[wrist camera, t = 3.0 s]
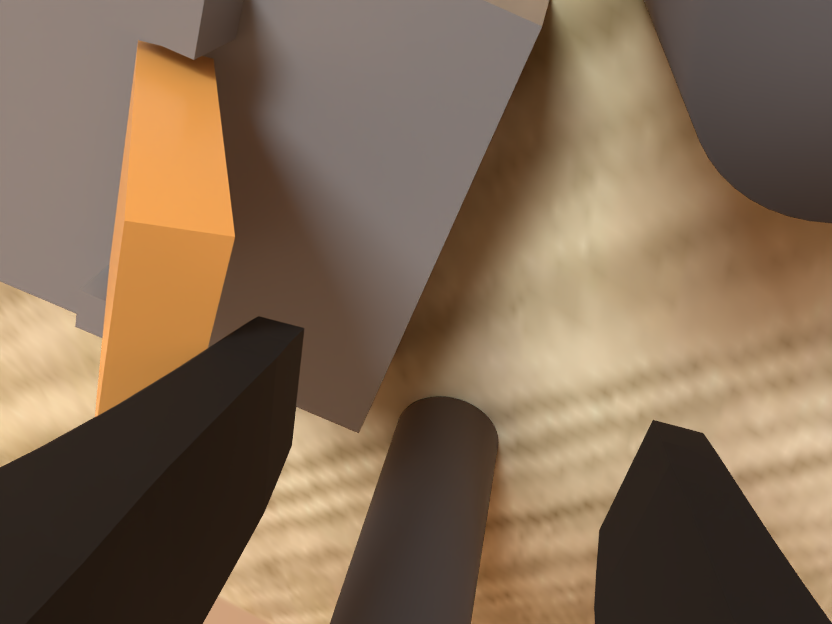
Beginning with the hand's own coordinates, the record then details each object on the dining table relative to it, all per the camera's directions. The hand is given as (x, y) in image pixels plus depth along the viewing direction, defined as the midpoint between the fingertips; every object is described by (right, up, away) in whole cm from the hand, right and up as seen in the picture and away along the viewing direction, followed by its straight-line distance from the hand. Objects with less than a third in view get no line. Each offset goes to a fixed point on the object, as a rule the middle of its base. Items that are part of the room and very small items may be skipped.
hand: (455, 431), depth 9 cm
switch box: (-4, +5, +4) cm, 8 cm away
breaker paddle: (-5, +4, +2) cm, 6 cm away
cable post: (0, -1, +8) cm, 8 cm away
